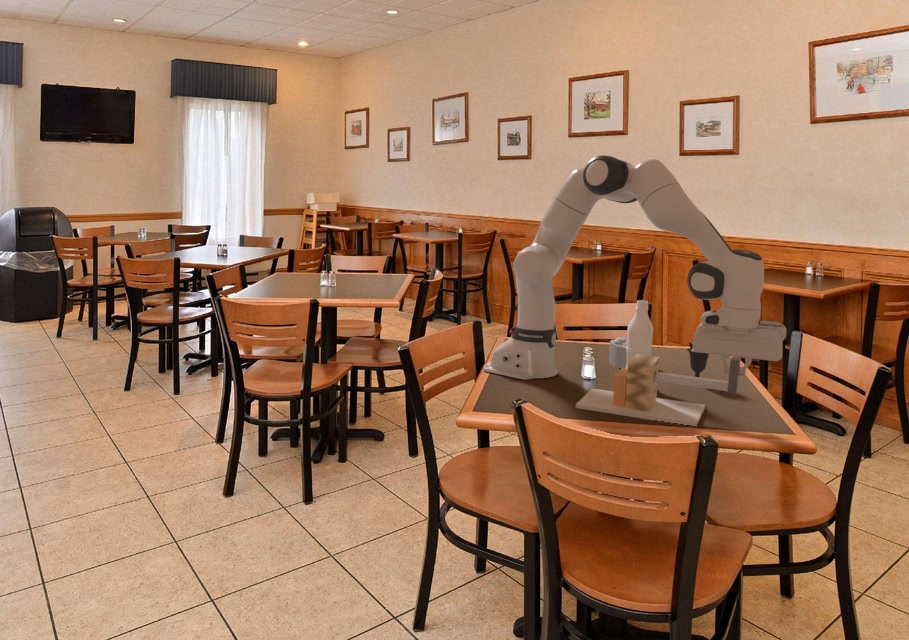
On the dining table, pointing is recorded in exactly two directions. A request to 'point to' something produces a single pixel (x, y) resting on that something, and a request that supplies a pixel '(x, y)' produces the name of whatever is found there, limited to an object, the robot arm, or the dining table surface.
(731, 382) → the shaft
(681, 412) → the base board
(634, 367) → the bearing block
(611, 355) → the lumpy-topped squat cylinder
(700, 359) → the sundae
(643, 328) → the water bottle
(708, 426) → the dining table surface
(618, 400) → the block
